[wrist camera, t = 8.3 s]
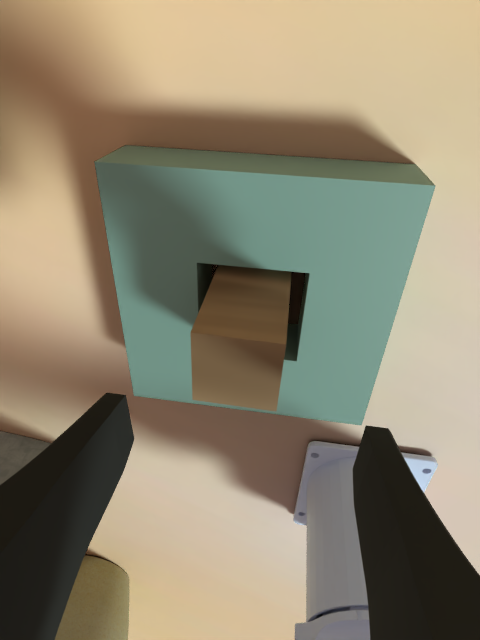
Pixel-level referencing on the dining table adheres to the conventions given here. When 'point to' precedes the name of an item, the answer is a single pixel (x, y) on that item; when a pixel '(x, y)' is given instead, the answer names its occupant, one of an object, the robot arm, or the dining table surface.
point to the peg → (241, 338)
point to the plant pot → (97, 603)
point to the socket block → (262, 261)
